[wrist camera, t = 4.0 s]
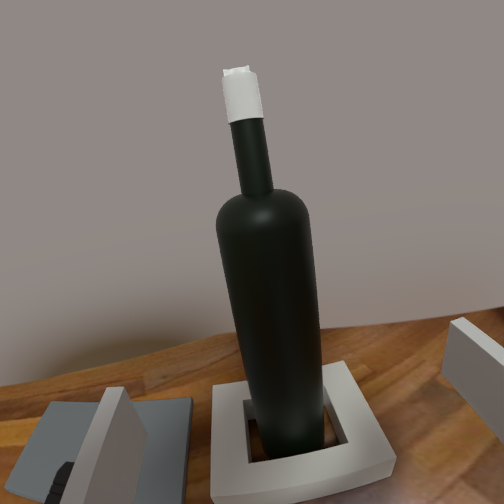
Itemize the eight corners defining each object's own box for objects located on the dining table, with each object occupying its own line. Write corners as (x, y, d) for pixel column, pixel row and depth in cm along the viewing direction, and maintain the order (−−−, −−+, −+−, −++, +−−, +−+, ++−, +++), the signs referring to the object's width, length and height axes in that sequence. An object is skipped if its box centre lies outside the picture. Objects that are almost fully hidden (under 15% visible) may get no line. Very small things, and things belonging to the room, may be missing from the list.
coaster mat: (193, 402, 33) (191, 397, 32) (183, 522, 17) (179, 519, 17) (54, 405, 32) (51, 401, 32) (8, 491, 17) (3, 487, 16)
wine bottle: (293, 411, 29) (245, 84, 21) (337, 436, 25) (304, 61, 16) (250, 443, 26) (174, 84, 17) (293, 475, 21) (226, 49, 13)
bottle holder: (343, 381, 32) (343, 360, 31) (391, 475, 19) (396, 457, 18) (219, 405, 32) (212, 385, 31) (219, 512, 18) (210, 496, 17)
